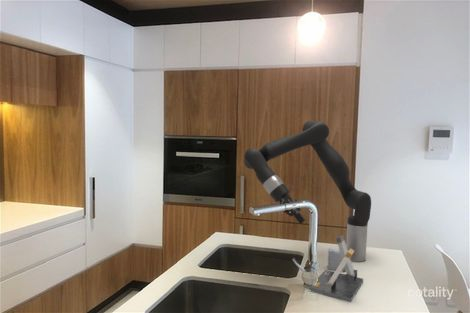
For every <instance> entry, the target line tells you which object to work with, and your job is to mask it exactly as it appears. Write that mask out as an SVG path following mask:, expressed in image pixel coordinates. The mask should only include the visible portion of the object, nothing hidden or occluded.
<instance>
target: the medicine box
mask: <svg viewBox="0 0 470 313" xmlns="http://www.w3.org/2000/svg"><path fill="white" fill-rule="evenodd" d="M327 258H328V259H327V270H328V271H336V269H337V268H338V266H339V265H340V263H341V261H342V256H341V253H340V250H339V248H331V247H329V248H328V257H327ZM341 272H346V270H345V266H344V268H343V270H342V271H341Z"/></svg>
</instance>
